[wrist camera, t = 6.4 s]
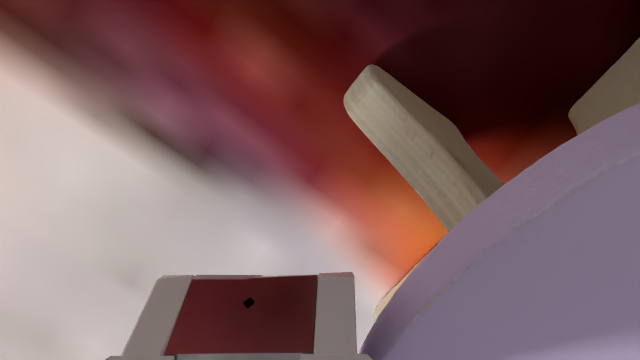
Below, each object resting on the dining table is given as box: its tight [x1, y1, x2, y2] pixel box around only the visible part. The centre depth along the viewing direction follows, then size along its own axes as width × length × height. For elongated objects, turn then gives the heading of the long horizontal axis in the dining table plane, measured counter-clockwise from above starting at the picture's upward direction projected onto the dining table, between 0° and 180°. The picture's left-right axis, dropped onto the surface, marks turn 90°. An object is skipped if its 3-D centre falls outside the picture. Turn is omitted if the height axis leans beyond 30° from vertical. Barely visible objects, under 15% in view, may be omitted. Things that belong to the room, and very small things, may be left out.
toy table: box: [344, 38, 640, 360], centre depth 10 cm, size 10×9×6 cm
